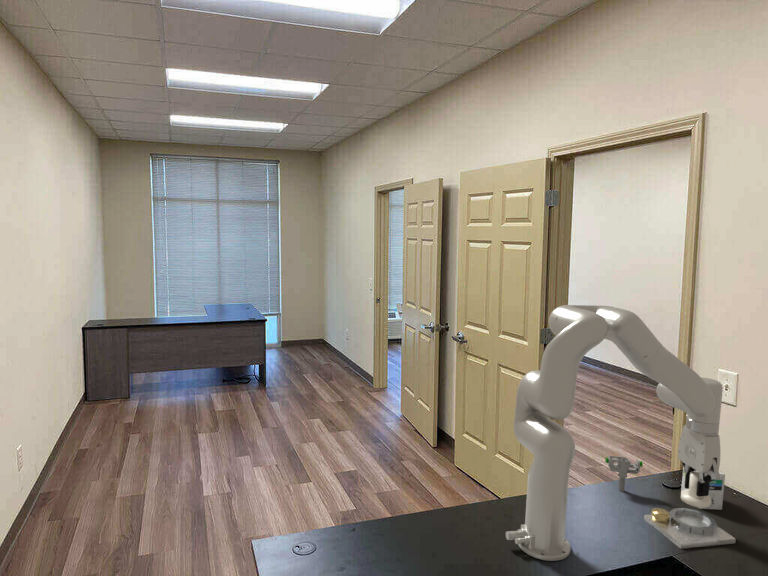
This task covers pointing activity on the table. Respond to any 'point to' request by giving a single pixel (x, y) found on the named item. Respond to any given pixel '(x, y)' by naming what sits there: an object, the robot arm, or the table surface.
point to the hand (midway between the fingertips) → (696, 491)
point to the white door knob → (694, 493)
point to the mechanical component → (623, 468)
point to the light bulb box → (712, 491)
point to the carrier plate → (688, 527)
